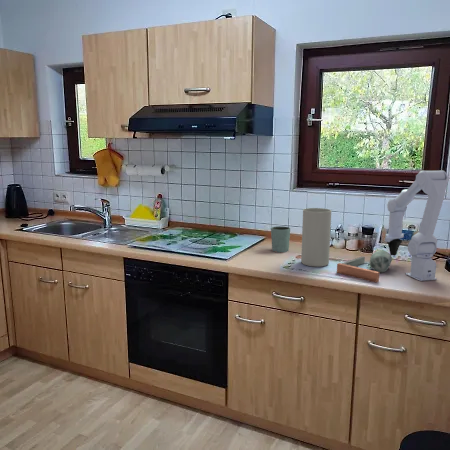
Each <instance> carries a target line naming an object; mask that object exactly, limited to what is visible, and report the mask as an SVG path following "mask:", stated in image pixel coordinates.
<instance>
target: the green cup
mask: <svg viewBox="0 0 450 450" xmlns="http://www.w3.org/2000/svg"><path fill="white" fill-rule="evenodd" d="M270 233H271V234H270V235H271V237H270V238H271V239H270V240H271V251H272V250H273V251H272V252H274V251H277V252H276V253H280V252H283V253H287V251H288V252H289V250H290V249H289V248H290V241H291V240H290V239H291V238H290V237H291V227H289V226H285V225H284V226H283V225H282V226H277V225H276V226H271V227H270Z"/></svg>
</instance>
